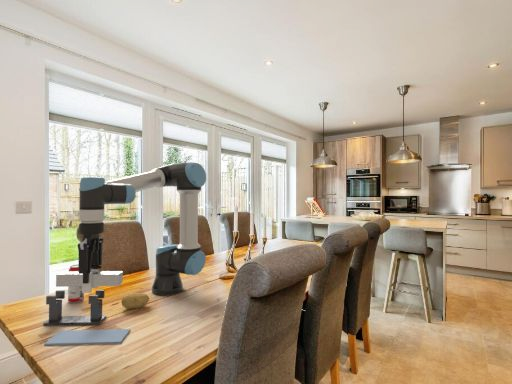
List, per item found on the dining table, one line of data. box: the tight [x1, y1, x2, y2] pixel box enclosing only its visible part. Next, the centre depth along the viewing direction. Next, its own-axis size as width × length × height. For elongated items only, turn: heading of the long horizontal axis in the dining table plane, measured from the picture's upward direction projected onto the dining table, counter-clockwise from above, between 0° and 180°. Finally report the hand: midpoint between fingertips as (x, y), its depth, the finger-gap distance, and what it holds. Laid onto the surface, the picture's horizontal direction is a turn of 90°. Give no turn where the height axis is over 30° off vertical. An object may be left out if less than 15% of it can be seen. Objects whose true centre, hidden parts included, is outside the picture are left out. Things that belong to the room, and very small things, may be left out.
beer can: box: [67, 264, 85, 304], centre depth 133 cm, size 6×6×16 cm
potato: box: [120, 292, 150, 310], centre depth 127 cm, size 7×11×6 cm, turn 107°
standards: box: [42, 289, 107, 327], centre depth 112 cm, size 20×7×11 cm, turn 95°
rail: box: [55, 270, 124, 288], centre depth 100 cm, size 20×4×4 cm, turn 95°
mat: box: [43, 328, 131, 346], centre depth 100 cm, size 24×9×1 cm, turn 95°
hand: (90, 289), depth 100 cm, fingers closed on rail, 4 cm apart
